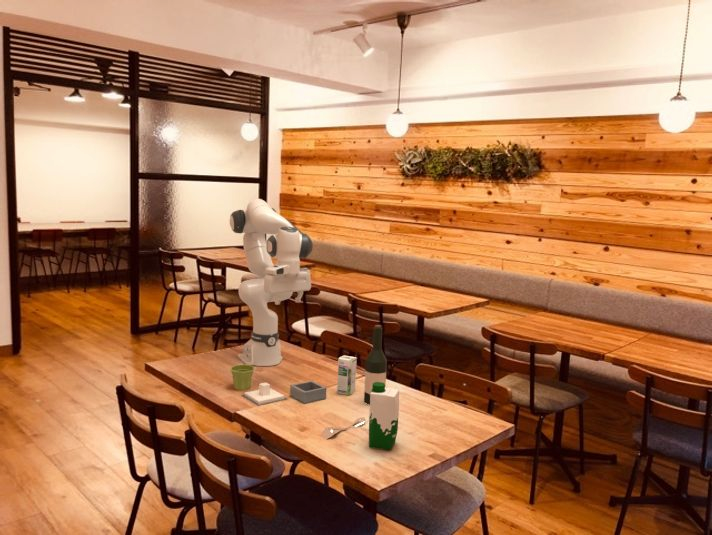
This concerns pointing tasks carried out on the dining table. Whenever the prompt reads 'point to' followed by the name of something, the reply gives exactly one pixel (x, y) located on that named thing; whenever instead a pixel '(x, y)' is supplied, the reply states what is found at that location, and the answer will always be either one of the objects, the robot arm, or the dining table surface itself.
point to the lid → (264, 394)
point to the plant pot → (242, 376)
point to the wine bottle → (375, 364)
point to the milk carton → (383, 416)
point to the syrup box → (346, 375)
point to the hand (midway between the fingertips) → (287, 303)
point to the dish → (308, 392)
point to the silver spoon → (331, 430)
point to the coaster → (263, 403)
